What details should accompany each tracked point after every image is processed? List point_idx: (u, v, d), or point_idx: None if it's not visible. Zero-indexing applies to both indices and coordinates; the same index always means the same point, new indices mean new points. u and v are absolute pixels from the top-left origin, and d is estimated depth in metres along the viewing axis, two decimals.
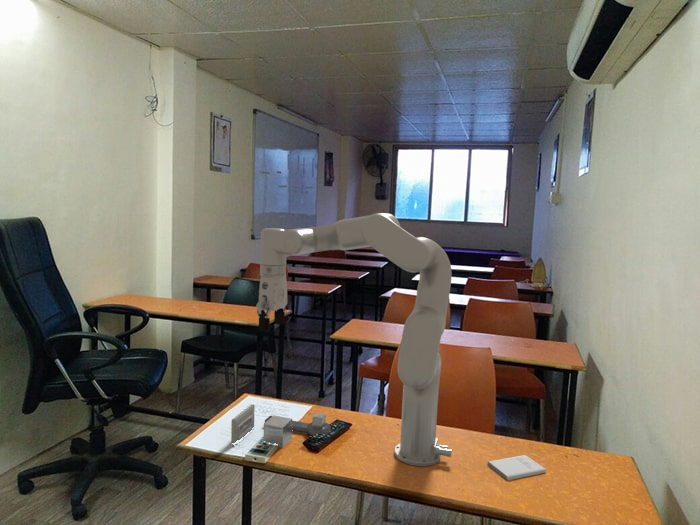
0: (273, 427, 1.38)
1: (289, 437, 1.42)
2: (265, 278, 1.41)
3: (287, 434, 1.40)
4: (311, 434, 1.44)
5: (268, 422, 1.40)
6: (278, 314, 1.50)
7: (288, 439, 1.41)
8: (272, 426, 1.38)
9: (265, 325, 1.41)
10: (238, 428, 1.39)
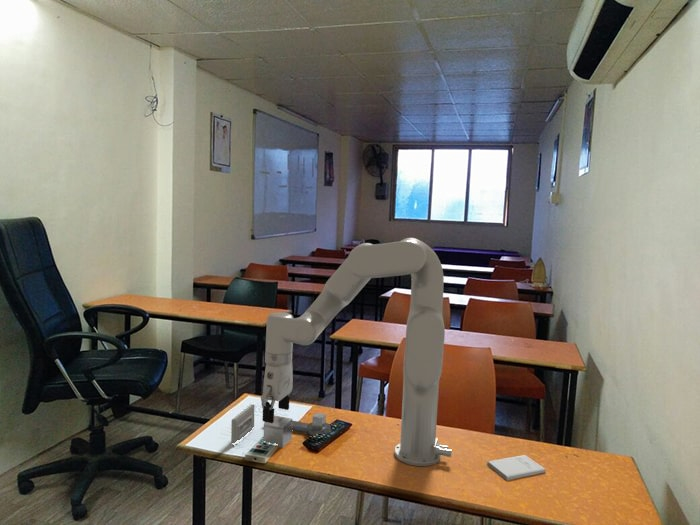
0: (273, 427, 1.38)
1: (289, 437, 1.42)
2: (270, 367, 1.35)
3: (287, 434, 1.40)
4: (311, 434, 1.44)
5: None
6: (283, 399, 1.45)
7: (288, 439, 1.41)
8: (272, 426, 1.38)
9: (269, 416, 1.35)
10: (238, 428, 1.39)
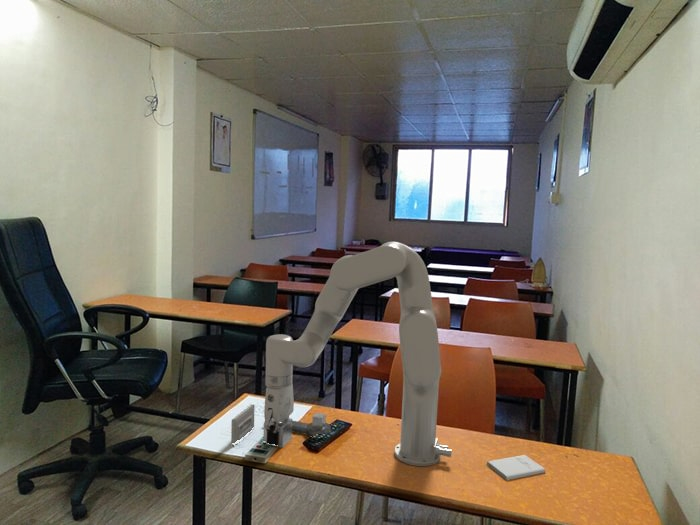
0: None
1: (289, 437, 1.42)
2: (271, 390, 1.36)
3: (287, 434, 1.40)
4: (311, 434, 1.44)
5: None
6: None
7: (288, 439, 1.41)
8: None
9: (273, 439, 1.37)
10: (238, 428, 1.39)
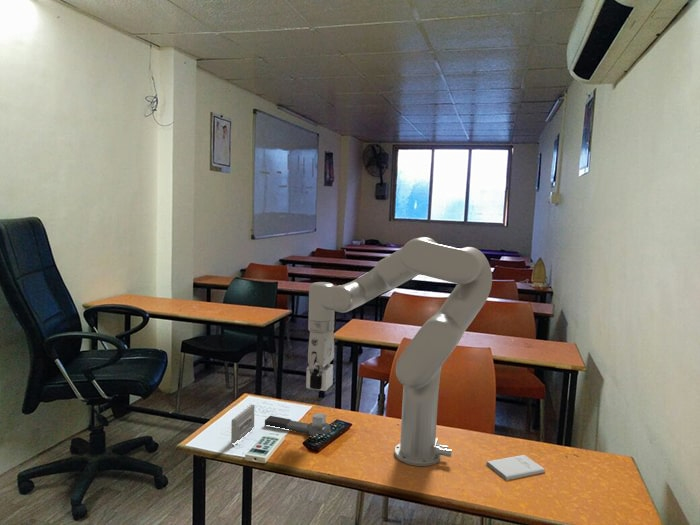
0: None
1: (330, 382, 1.46)
2: (315, 334, 1.40)
3: (329, 379, 1.44)
4: (311, 434, 1.44)
5: None
6: None
7: (330, 384, 1.45)
8: None
9: (317, 383, 1.41)
10: (238, 428, 1.39)
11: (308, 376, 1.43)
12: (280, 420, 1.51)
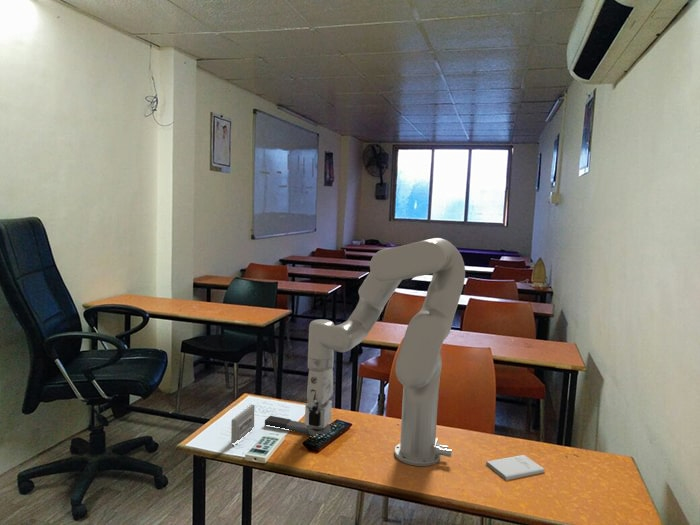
0: None
1: (329, 419, 1.47)
2: (314, 372, 1.41)
3: (327, 415, 1.46)
4: (311, 434, 1.44)
5: None
6: None
7: (328, 420, 1.47)
8: None
9: (315, 420, 1.43)
10: (238, 428, 1.39)
11: (307, 413, 1.45)
12: (280, 420, 1.51)
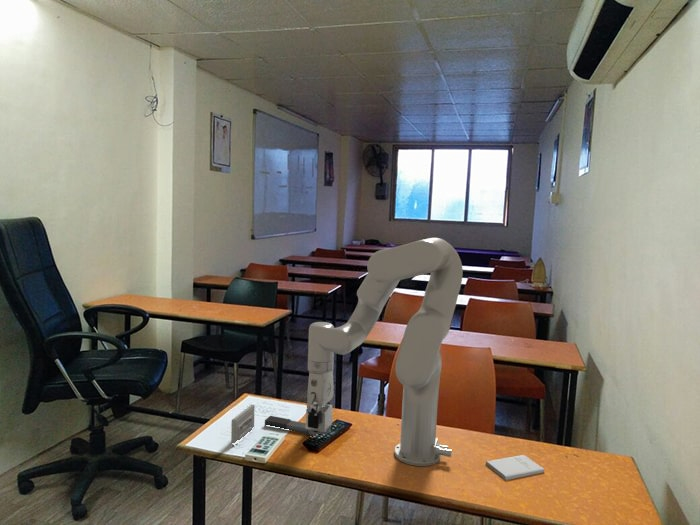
0: None
1: (330, 423, 1.47)
2: (314, 375, 1.41)
3: (328, 420, 1.46)
4: (311, 434, 1.44)
5: None
6: None
7: (329, 424, 1.47)
8: None
9: (314, 422, 1.41)
10: (238, 428, 1.39)
11: None
12: (280, 420, 1.51)
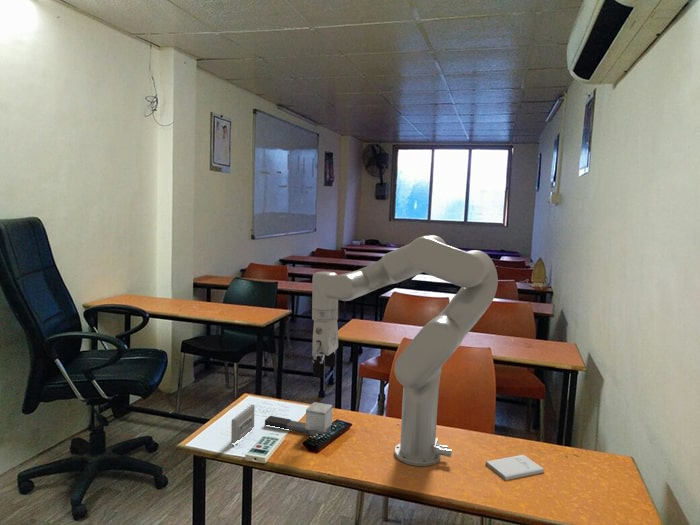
0: (315, 413, 1.44)
1: (330, 423, 1.47)
2: (319, 323, 1.40)
3: (328, 420, 1.46)
4: (311, 434, 1.44)
5: (310, 408, 1.45)
6: (329, 356, 1.50)
7: (329, 424, 1.47)
8: (314, 412, 1.44)
9: (320, 370, 1.40)
10: (238, 428, 1.39)
11: (307, 417, 1.45)
12: (280, 420, 1.51)
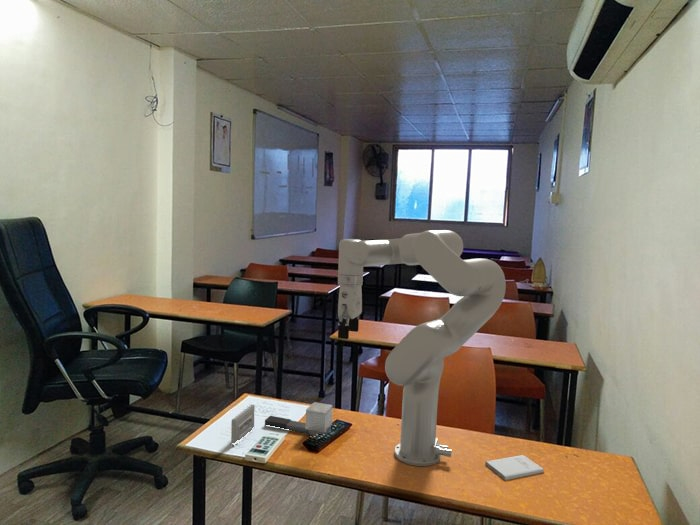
0: (315, 413, 1.44)
1: (330, 423, 1.47)
2: (345, 287, 1.46)
3: (328, 420, 1.46)
4: (311, 434, 1.44)
5: (310, 408, 1.45)
6: (352, 321, 1.56)
7: (329, 425, 1.47)
8: (314, 412, 1.44)
9: (345, 332, 1.46)
10: (238, 428, 1.39)
11: (307, 417, 1.44)
12: (280, 420, 1.51)
